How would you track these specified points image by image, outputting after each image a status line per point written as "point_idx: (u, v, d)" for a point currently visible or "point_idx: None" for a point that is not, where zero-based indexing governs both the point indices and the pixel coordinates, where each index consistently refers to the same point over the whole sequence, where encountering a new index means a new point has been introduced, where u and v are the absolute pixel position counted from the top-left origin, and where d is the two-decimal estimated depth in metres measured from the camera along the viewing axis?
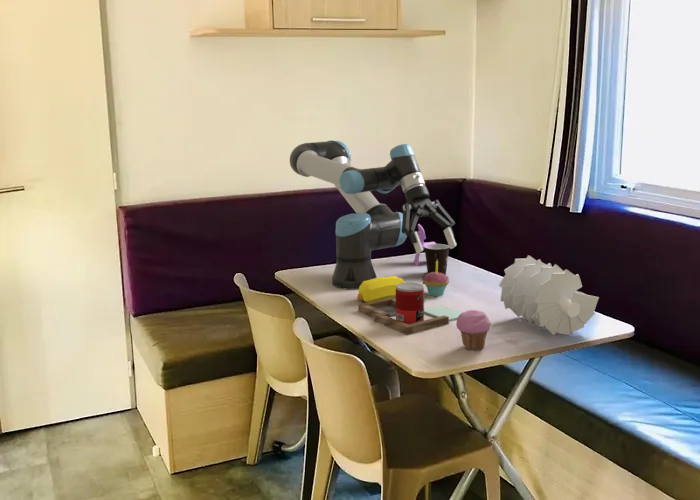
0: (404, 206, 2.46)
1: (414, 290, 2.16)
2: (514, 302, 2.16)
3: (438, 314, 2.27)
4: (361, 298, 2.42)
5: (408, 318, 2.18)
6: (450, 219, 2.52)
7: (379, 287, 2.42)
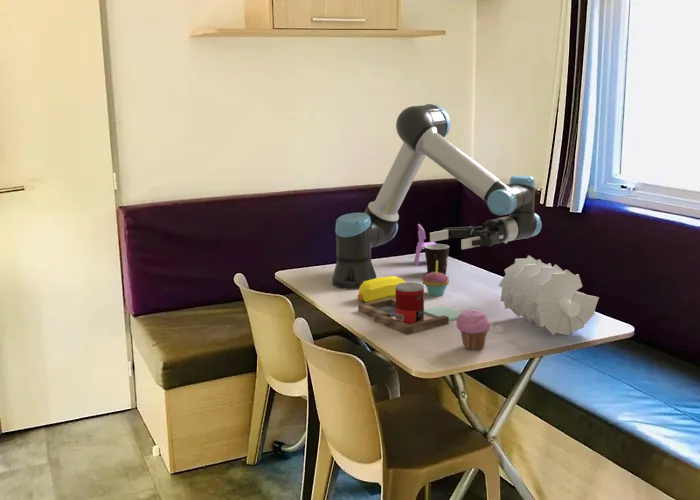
0: (502, 237, 2.28)
1: (414, 290, 2.16)
2: (514, 302, 2.16)
3: (438, 314, 2.27)
4: (361, 298, 2.42)
5: (408, 318, 2.18)
6: None
7: (379, 287, 2.42)
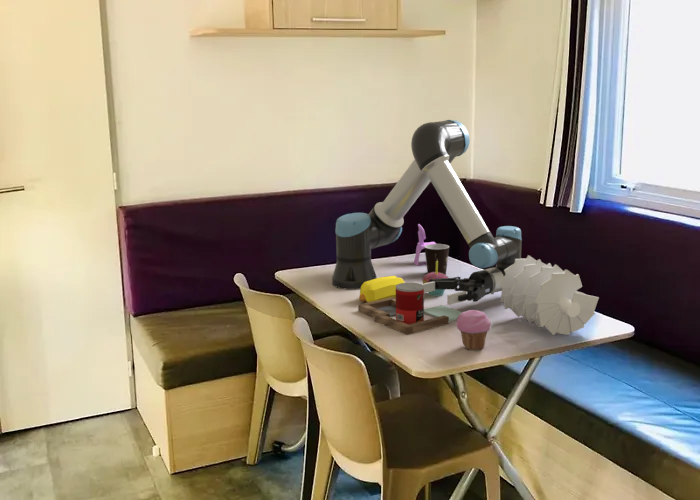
0: (488, 291, 2.28)
1: (414, 290, 2.16)
2: (514, 302, 2.16)
3: (438, 314, 2.27)
4: (364, 299, 2.41)
5: (408, 318, 2.18)
6: None
7: (381, 287, 2.42)
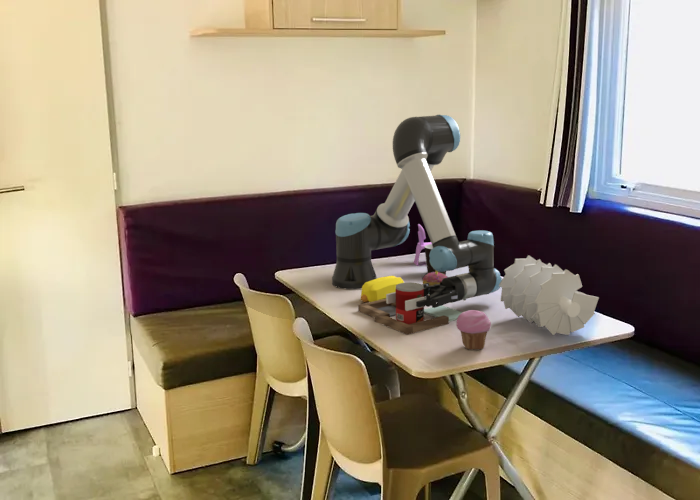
0: (455, 298, 2.21)
1: (414, 290, 2.16)
2: (514, 302, 2.16)
3: (438, 314, 2.27)
4: (366, 299, 2.41)
5: (408, 318, 2.18)
6: None
7: (383, 287, 2.42)
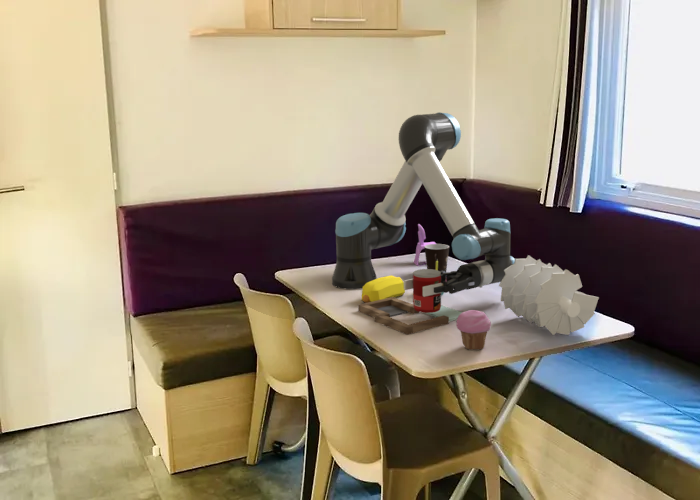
0: (472, 284, 2.24)
1: (431, 276, 2.19)
2: (514, 302, 2.17)
3: (438, 314, 2.27)
4: (368, 300, 2.40)
5: (425, 304, 2.20)
6: None
7: (384, 287, 2.42)
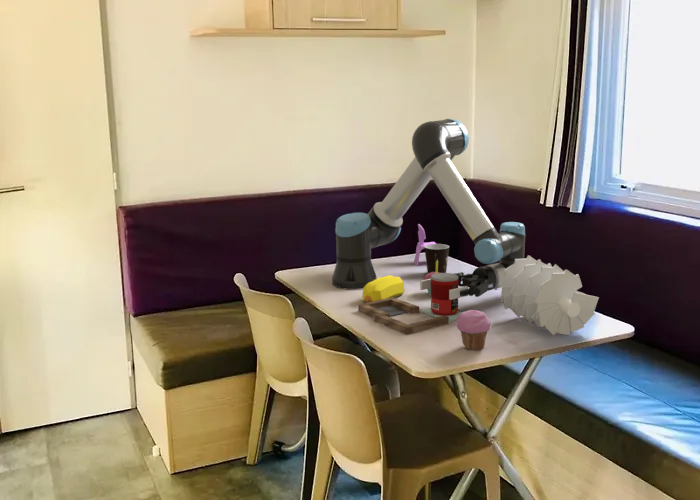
0: (491, 286, 2.29)
1: (449, 280, 2.23)
2: (514, 302, 2.17)
3: None
4: (370, 300, 2.40)
5: (443, 307, 2.25)
6: None
7: (386, 287, 2.42)
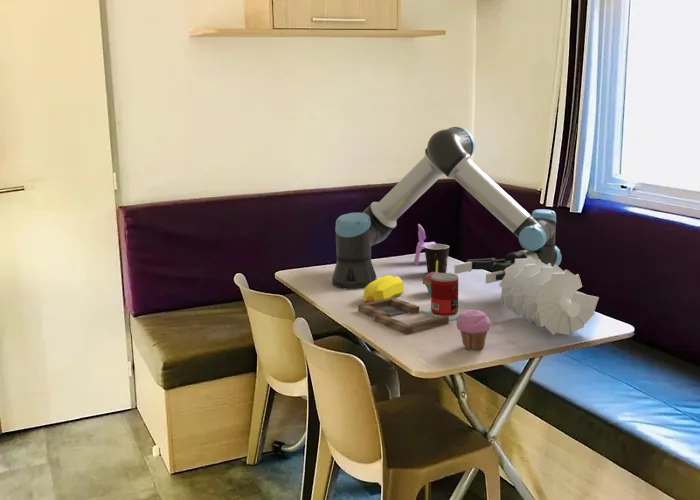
0: None
1: (449, 280, 2.23)
2: (514, 302, 2.17)
3: None
4: (372, 300, 2.39)
5: (443, 307, 2.25)
6: None
7: (387, 287, 2.42)
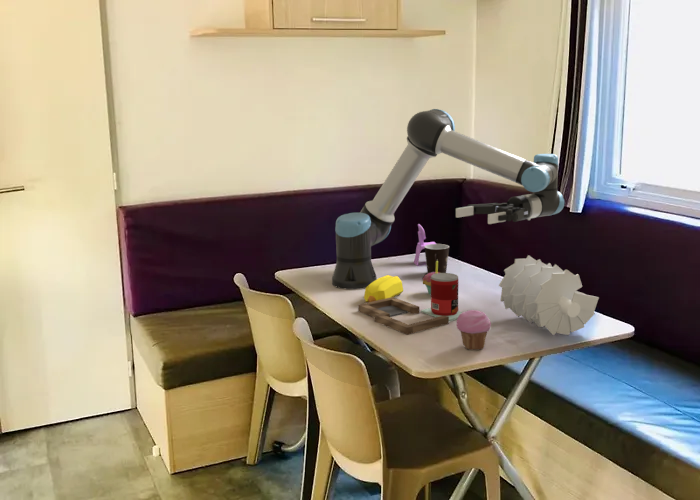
0: (526, 213, 2.32)
1: (449, 280, 2.23)
2: (514, 302, 2.17)
3: None
4: None
5: (443, 307, 2.25)
6: (474, 212, 2.41)
7: (388, 287, 2.42)
